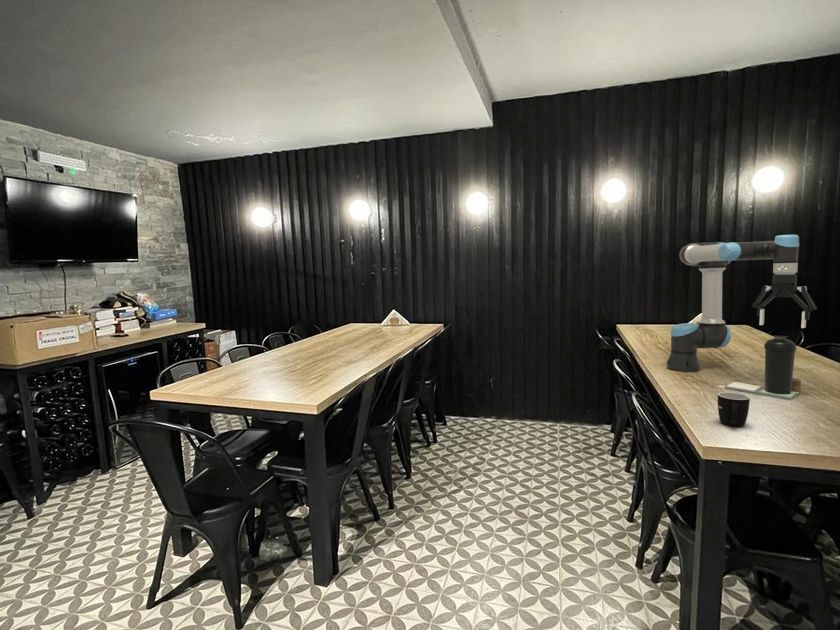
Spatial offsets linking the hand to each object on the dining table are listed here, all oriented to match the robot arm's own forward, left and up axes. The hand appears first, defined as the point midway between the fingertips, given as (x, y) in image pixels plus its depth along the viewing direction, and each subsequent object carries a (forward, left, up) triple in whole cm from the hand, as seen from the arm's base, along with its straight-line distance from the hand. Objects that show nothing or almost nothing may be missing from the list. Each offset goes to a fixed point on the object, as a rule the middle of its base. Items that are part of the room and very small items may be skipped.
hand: (781, 326), depth 180 cm
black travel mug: (0, 0, -28) cm, 28 cm away
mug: (+1, -52, -29) cm, 59 cm away
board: (-6, 0, -28) cm, 29 cm away
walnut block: (+2, +10, -29) cm, 31 cm away
